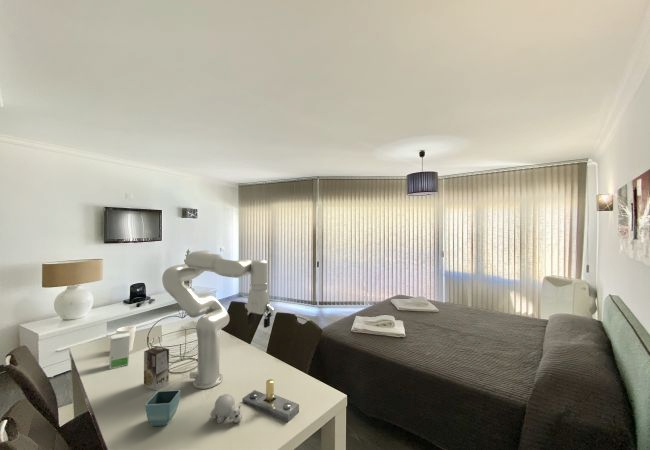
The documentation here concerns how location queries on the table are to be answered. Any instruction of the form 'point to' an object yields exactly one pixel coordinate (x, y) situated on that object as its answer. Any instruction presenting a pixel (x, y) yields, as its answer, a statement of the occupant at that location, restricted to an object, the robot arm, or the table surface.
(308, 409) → the table surface
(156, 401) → the flower pot
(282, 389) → the table surface
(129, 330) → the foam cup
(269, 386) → the pin
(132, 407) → the table surface
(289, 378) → the table surface
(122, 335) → the skincare box
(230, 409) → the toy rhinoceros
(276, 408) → the grey flat bar
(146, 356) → the coffee box
